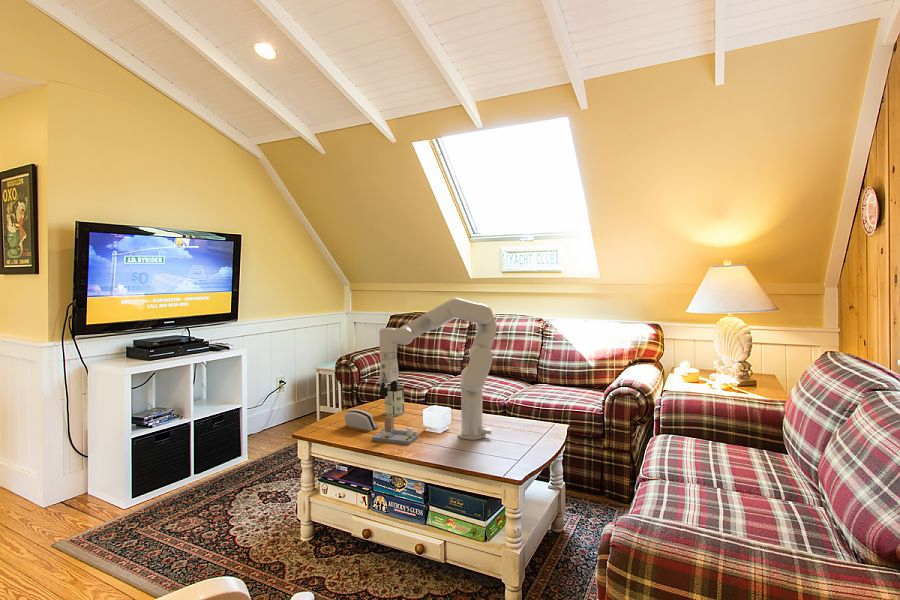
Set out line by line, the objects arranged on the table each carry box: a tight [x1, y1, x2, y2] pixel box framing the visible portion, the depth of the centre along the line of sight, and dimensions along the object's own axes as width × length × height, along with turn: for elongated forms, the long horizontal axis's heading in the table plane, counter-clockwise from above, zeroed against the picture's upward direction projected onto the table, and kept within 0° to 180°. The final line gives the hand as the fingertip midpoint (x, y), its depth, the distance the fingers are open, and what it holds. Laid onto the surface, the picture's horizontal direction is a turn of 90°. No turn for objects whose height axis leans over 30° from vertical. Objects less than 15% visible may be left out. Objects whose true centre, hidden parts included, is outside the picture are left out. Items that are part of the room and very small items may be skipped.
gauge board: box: [371, 427, 419, 446], centre depth 221 cm, size 18×10×6 cm, turn 70°
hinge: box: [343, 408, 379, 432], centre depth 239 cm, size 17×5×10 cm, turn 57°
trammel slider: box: [382, 415, 397, 438], centre depth 221 cm, size 4×9×8 cm, turn 160°
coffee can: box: [384, 384, 405, 417], centre depth 263 cm, size 10×10×14 cm
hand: (389, 393), depth 222 cm, fingers open, 9 cm apart
